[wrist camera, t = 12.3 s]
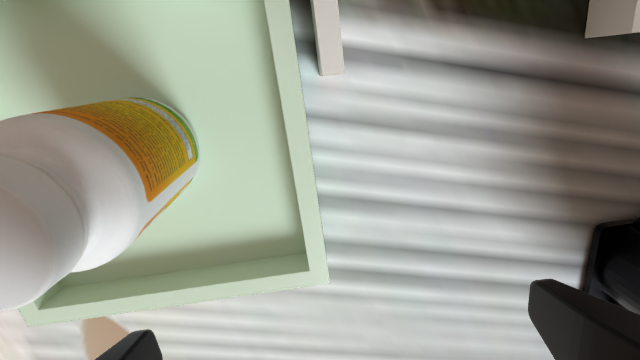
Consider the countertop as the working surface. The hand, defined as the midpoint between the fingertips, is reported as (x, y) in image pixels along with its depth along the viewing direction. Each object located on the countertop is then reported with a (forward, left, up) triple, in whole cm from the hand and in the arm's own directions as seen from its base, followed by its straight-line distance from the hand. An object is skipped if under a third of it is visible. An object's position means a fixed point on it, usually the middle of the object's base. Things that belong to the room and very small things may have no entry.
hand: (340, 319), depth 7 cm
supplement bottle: (+3, +9, -11) cm, 14 cm away
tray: (+3, +9, -11) cm, 15 cm away
